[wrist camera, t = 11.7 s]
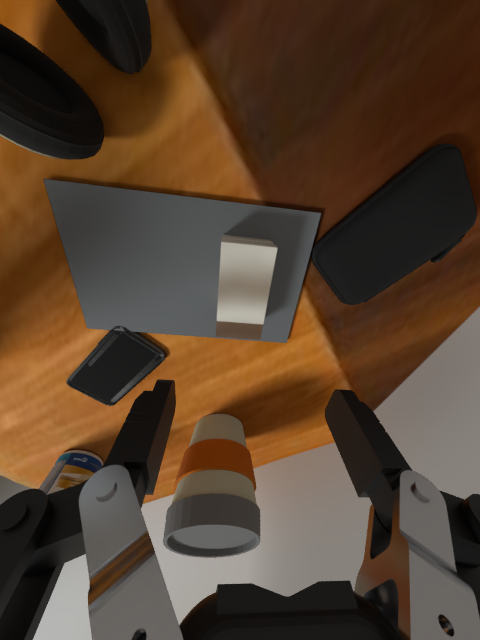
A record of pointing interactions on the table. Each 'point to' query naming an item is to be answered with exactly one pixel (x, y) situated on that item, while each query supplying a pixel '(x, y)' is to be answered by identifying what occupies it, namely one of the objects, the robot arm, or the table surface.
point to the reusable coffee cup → (214, 494)
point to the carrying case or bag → (399, 227)
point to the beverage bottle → (71, 470)
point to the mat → (171, 257)
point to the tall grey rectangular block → (244, 286)
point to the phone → (116, 366)
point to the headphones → (67, 79)
